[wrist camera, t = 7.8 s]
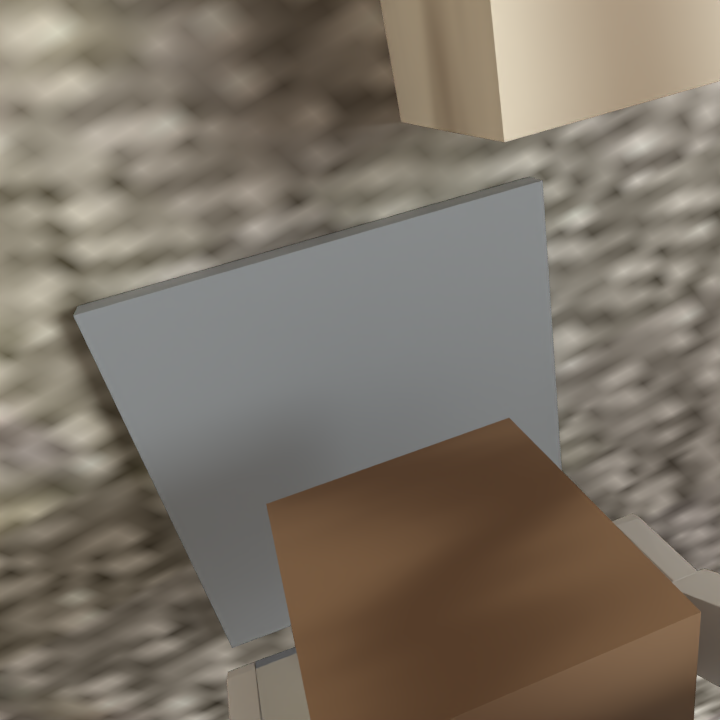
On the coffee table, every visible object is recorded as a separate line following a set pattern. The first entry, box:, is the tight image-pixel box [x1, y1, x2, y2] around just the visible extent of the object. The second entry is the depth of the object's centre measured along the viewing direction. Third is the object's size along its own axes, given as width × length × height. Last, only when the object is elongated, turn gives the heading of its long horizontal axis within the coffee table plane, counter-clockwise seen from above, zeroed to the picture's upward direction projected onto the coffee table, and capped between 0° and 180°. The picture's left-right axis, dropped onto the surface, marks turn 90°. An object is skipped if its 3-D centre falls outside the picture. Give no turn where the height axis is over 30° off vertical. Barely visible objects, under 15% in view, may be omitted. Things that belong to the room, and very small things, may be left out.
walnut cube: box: [266, 418, 701, 720], centre depth 11 cm, size 5×5×5 cm
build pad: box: [73, 177, 562, 648], centre depth 16 cm, size 11×11×1 cm
